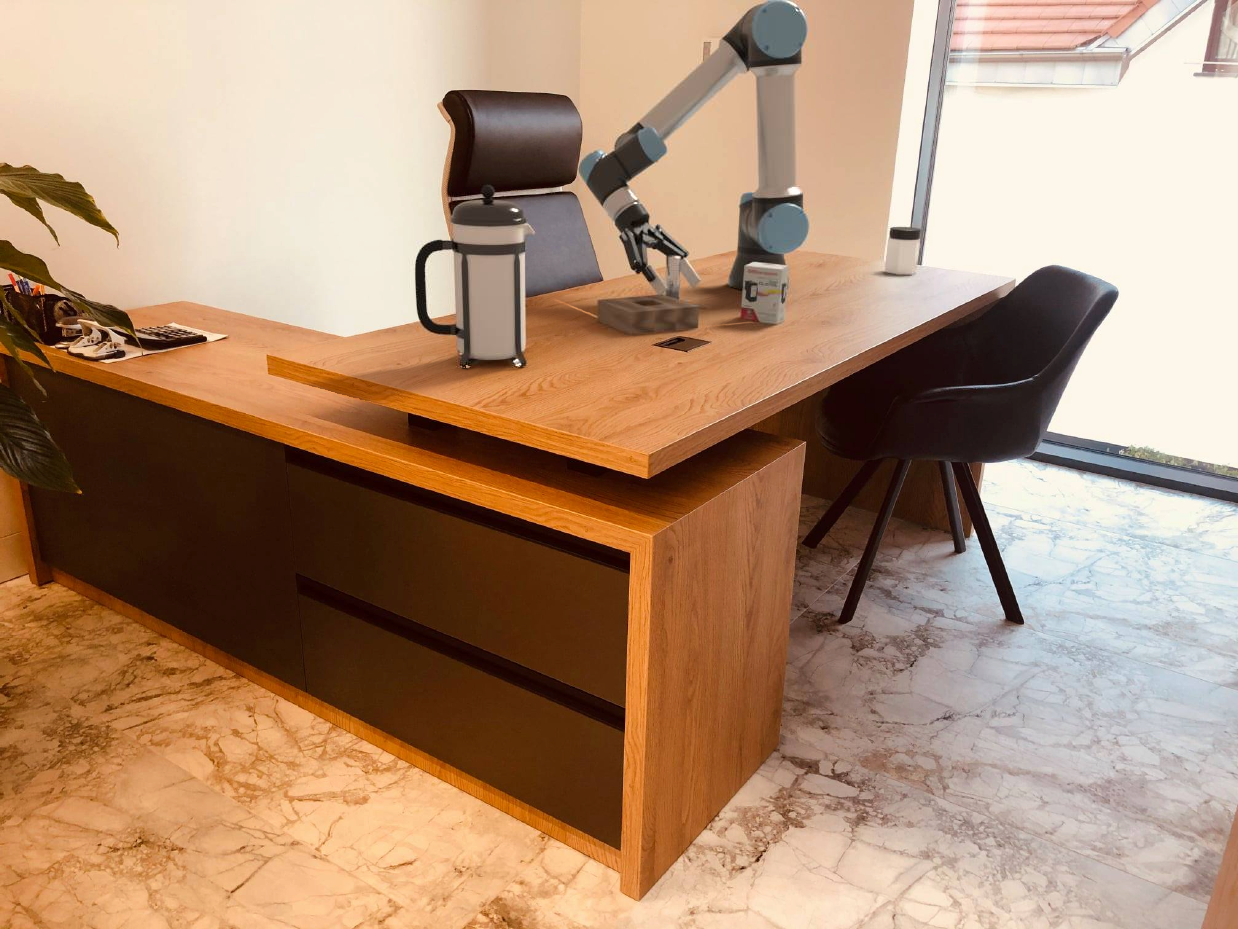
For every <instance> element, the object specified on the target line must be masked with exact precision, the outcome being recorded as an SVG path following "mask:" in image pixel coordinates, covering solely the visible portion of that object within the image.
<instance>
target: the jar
mask: <svg viewBox="0 0 1238 929" xmlns="http://www.w3.org/2000/svg"><path fill="white" fill-rule="evenodd" d="M921 231H922V230H921V228H918V227H912V226H893V227H892V226H891V227H890V229H889V232H888V233H889V237H888V238H887V246H886V254H885V264H884V273H886V274H887V273H888V274H892V275H899V276H900V275H903V276H906V275H907V276H908V275H909V276H913V275H914V274H916V273H917V270H918V261H919V252H920V246H921Z"/></svg>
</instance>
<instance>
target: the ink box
mask: <svg viewBox="0 0 1238 929" xmlns="http://www.w3.org/2000/svg"><path fill="white" fill-rule="evenodd" d="M789 269H790V267H789V266H788V265H787V264H786V265H778V264H768V263H759V262H752V263H750V264H747V265H745V266H744V278H743V289H742V292H741V293H742V294H741V304H740V305H741V306H740V308H741V310H740V319H743V320H744V319H745V320H750V321H752V322H756V323H763V324H771V325H778V324H781V323H783V322H784V321H785V318H786V305H787V295H788V294H787V293H788V288H787V283H788V277H789V272H790V270H789Z"/></svg>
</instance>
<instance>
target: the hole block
mask: <svg viewBox="0 0 1238 929" xmlns="http://www.w3.org/2000/svg"><path fill="white" fill-rule="evenodd" d="M685 301H686V300H683V301H682V300H681V299H680V298H679V299H676V298H673V297H670V296H667V295H665V293H663V294H662V295H658V294H652V295H641V296H639V295H638V296H628V297H617V298H616V297H615V298H604V299H597V311H596V312H597V313H596V314H597V315H596V317H597V318H596V319H597V320H596V321H597V322H598V323H601V324H603V325H605V326H607V327H610V328H612V329H616V330H618V331H620V332H622V333H625V334H627V335H629V336H631V335H632V336H633V335H643V334H644V335H645V334H654V333H662V332H671V331H672V332H673V331H674V332H675V331H683V330H684V331H685V330H691V329H692V330H693V329H698V328H699V317H700V316H699V315H700V309H699V306H700V305H698V304H695V303H692V302H689V301H686V302H685ZM688 302H689V303H688ZM691 303H692V304H691ZM694 304H695V305H694ZM697 305H698V306H697Z"/></svg>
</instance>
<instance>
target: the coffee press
mask: <svg viewBox="0 0 1238 929" xmlns="http://www.w3.org/2000/svg"><path fill="white" fill-rule="evenodd" d="M480 193H481V195H482V196H483V198H482V199H475V200H468V201H464V202H461V203H459V204H458V205H456V206H455V207H454V209H453V211H452V214H451V215H450V216H449V223H451V225H452V238H451V240H447V239H446V240H443V239H435V240H431V241H429V242H427V243H425V244H424V245H422V246H421V248H420V249H419V251H418V253H417V255H416V258H415V264H414V267H415V268H414V283H415V304H416V314H417V317H418V320H419V322H420V324H421V325H422V327H423V328H424V329H426V330H427V331H428V332H430V333H432V334H435V335H442V336H444V335H445V336H456V347H457V353H458V355H459V354H462V355H463V356H461V358H460V361H459V367H460V366H462V367H465V368H466V365H468V366H471V367H472V366H473V364H474V363H475V362H476V361H479V360H482V361H495V360H496V361H497V360H506V359H507V360H510V361H511V362H512V363H513V365H514V366H515V367H516V366H519V365H521V366H520V368H523V367H522V366H524V367H526V365H527V364H528V363H527V360H526V357H525V356H524V353H523V352H525V350H526V343H527V342H526V339H527V338H526V334H527V333H526V255H525V254H526V251H527V239H526V238H525V237H526V235H535V234H536V232H535V230H534V228H532V227H531V225H530V224H529V223H528V217H527V216H525V213H524V210H523V209H522V207H521V206H519V205H518V204H516V203H514V202H511V201H507V200H498V199H493V197H494V196H495V193H496V190H495V189H494V187H493V186H492V185H490V184H485V185H483V187H481V191H480ZM444 250H445V251H446V250H447V251H451V250H452V252H453V272H454V273H453V274H454V297H455V298H454V299H455V300H454V301H455V302H454V303H455V304H454V306H455V323H452V324H442V323H441V324H440V323H436V322H434V321H433V320H432V319H431V317H430V316H429V314H428V308H427V307H428V306H427V305H428V304H427V303H428V302H427V285H426V263H427V261H428V258H430V257H429V256H430V255H432V254H433V253H435V252H440V251H441V252H442V251H444ZM517 357H518V358H517ZM465 368H464V369H465Z"/></svg>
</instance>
